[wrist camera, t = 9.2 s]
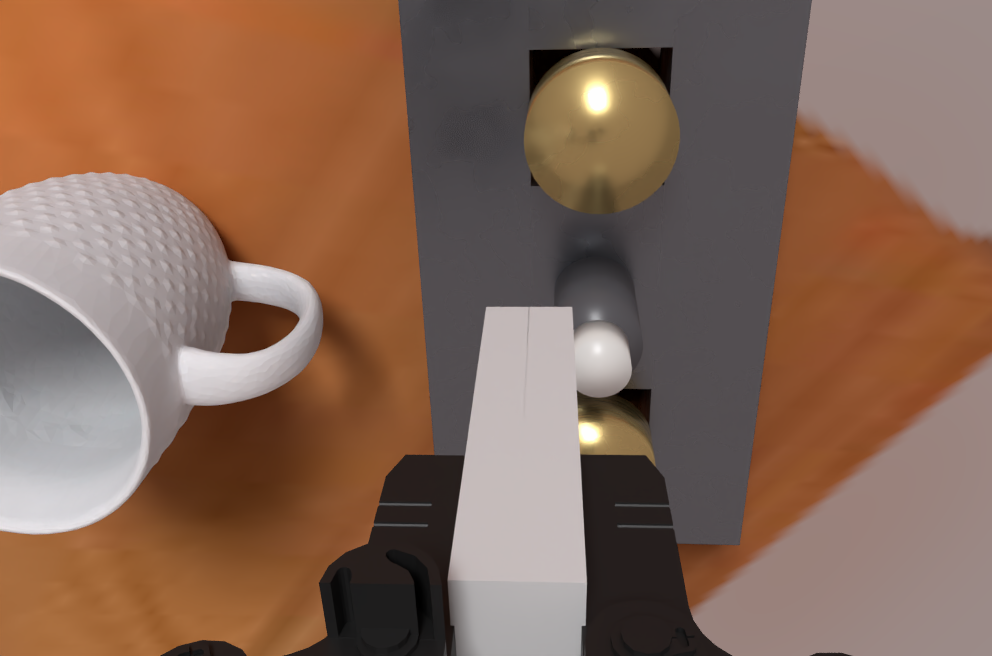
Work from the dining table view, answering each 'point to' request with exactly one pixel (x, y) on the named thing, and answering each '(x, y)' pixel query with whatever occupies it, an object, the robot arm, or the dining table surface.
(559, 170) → the near knob
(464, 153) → the mount plate
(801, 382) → the dining table surface
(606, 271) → the pot post
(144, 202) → the mug
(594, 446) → the far knob
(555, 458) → the robot arm
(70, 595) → the dining table surface
